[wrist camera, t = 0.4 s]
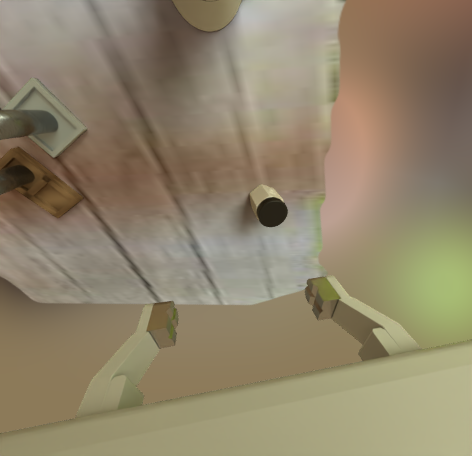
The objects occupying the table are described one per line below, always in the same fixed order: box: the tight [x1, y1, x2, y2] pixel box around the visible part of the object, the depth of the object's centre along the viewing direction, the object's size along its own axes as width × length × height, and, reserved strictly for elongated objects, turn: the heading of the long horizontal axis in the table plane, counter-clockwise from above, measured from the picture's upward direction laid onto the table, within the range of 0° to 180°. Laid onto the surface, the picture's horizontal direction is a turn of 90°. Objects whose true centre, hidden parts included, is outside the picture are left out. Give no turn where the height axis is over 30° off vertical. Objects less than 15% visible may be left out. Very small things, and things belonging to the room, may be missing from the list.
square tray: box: [2, 78, 87, 158], centre depth 41 cm, size 11×11×2 cm
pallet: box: [0, 147, 83, 218], centre depth 48 cm, size 16×9×2 cm, turn 33°
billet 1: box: [0, 110, 58, 140], centre depth 36 cm, size 4×4×14 cm
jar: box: [250, 184, 288, 227], centre depth 55 cm, size 9×8×12 cm
